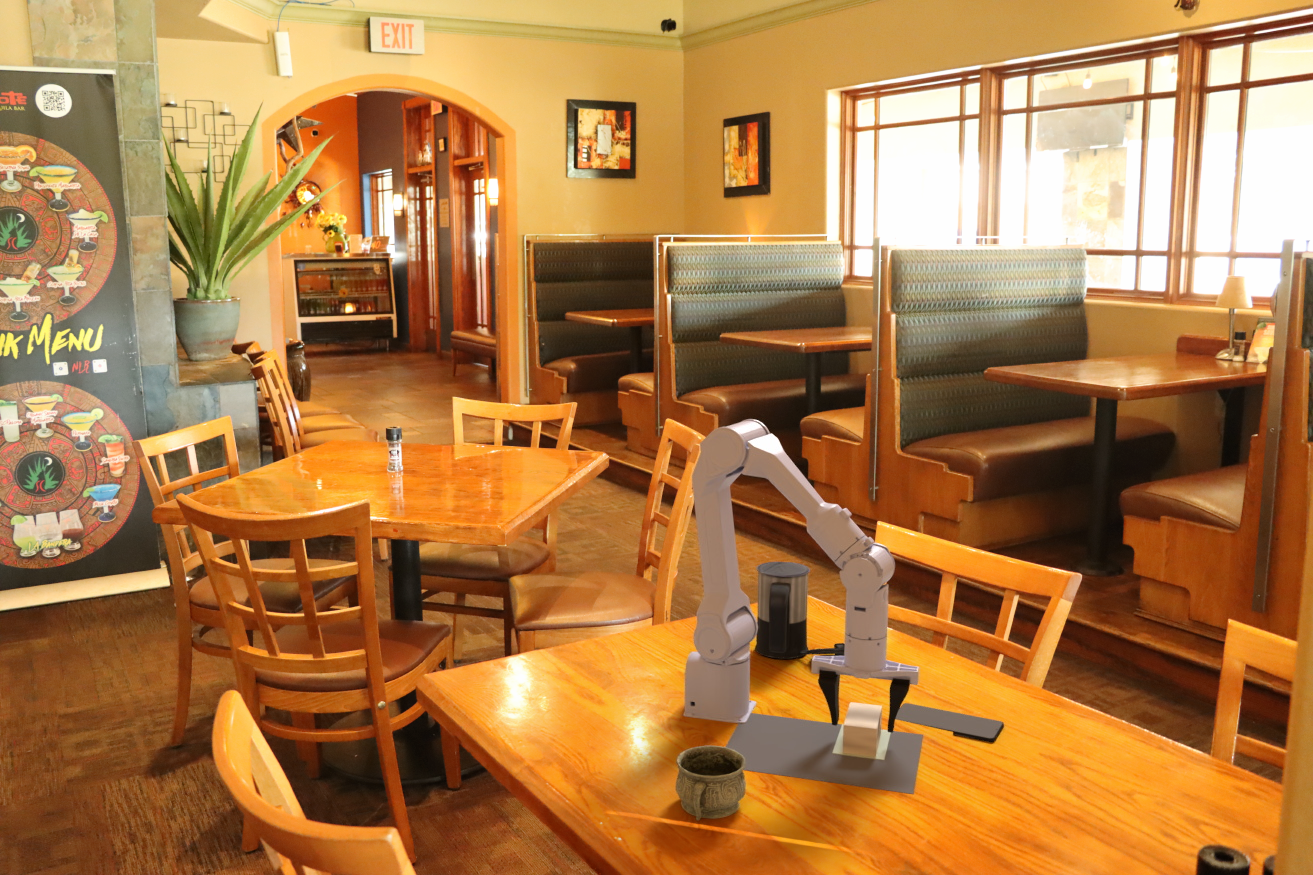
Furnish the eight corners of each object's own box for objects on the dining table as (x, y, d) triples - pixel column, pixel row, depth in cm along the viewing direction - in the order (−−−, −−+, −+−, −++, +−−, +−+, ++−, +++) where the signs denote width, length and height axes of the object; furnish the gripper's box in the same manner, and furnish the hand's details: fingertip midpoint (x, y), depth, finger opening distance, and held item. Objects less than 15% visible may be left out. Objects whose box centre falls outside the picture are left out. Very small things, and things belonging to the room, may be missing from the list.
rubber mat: (714, 768, 147) (714, 764, 146) (744, 714, 163) (744, 711, 163) (913, 796, 139) (913, 792, 139) (923, 737, 156) (923, 733, 156)
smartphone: (904, 701, 167) (1004, 721, 160) (904, 707, 167) (1004, 727, 160) (890, 718, 161) (993, 739, 154) (889, 723, 161) (993, 745, 154)
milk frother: (750, 641, 194) (751, 561, 191) (837, 638, 196) (839, 558, 193) (766, 672, 180) (767, 585, 177) (860, 668, 182) (862, 582, 179)
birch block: (849, 728, 158) (850, 701, 157) (881, 731, 156) (882, 705, 156) (842, 752, 150) (843, 724, 149) (875, 756, 149) (876, 728, 148)
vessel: (731, 837, 130) (732, 787, 128) (661, 824, 132) (661, 775, 131) (756, 790, 141) (757, 744, 140) (691, 779, 144) (691, 734, 143)
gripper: (808, 637, 149) (806, 730, 151) (917, 648, 145) (913, 744, 147) (816, 620, 156) (814, 710, 158) (921, 631, 151) (917, 723, 154)
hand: (862, 725), depth 153 cm, fingers open, 7 cm apart
